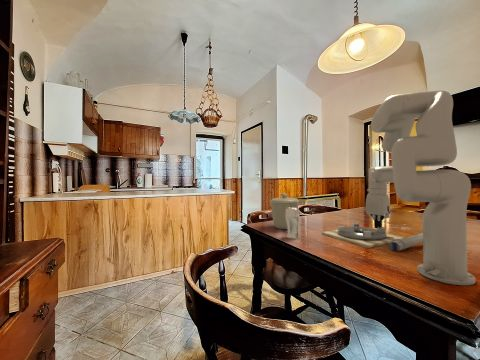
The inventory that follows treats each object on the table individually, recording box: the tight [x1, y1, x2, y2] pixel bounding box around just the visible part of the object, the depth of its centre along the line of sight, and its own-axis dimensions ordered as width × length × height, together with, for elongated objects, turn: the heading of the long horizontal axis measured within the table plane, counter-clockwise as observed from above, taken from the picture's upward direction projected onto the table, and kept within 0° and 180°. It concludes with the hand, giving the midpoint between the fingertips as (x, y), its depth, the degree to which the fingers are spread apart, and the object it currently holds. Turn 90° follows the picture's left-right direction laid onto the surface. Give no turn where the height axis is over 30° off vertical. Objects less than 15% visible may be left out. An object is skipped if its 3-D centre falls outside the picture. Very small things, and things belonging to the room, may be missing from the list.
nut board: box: [321, 229, 407, 249], centre depth 107 cm, size 26×26×1 cm
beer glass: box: [285, 207, 300, 240], centre depth 110 cm, size 7×7×15 cm
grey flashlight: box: [388, 232, 423, 252], centre depth 90 cm, size 5×7×25 cm
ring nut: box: [337, 222, 387, 240], centre depth 107 cm, size 21×21×4 cm
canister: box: [269, 192, 300, 230], centre depth 131 cm, size 18×18×21 cm
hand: (378, 228), depth 108 cm, fingers closed
